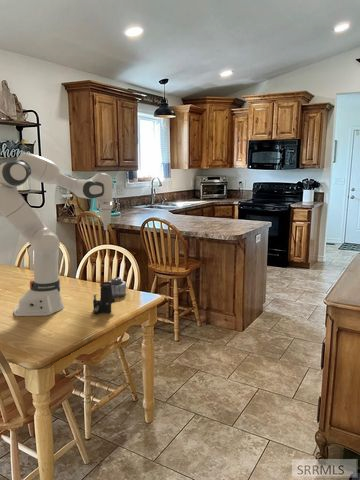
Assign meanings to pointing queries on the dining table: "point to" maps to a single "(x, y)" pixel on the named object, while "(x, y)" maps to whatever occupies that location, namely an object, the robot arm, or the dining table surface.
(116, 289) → the grey short cylinder
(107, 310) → the scope
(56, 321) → the dining table surface
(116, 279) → the cap
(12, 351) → the dining table surface
